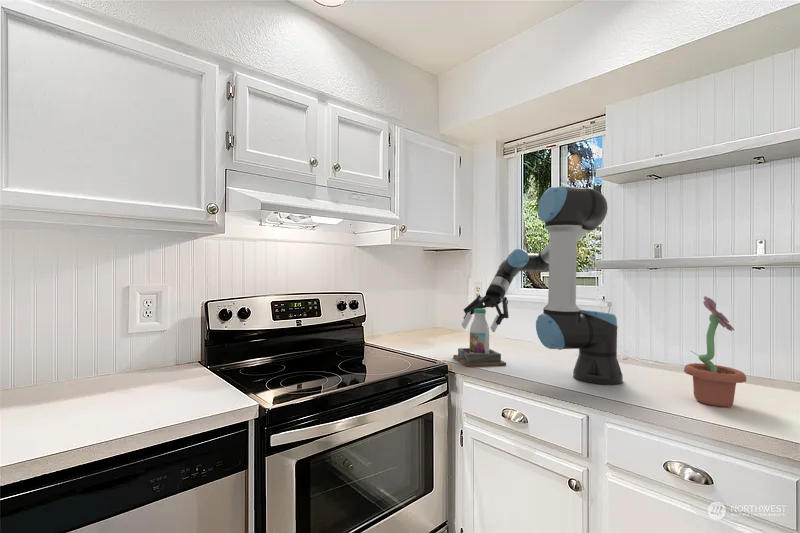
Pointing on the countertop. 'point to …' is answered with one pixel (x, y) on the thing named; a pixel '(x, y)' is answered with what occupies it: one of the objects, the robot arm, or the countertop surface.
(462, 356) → the square grey dish
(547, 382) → the countertop surface
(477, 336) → the milk bottle
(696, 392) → the decorative flower
